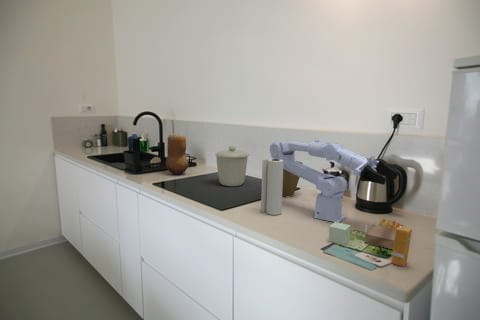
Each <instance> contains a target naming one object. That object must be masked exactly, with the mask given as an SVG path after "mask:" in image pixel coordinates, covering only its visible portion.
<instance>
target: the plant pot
mask: <svg viewBox="0 0 480 320" xmlns="http://www.w3.org/2000/svg"><path fill="white" fill-rule="evenodd" d="M296 161H297V162H299V163H301V164H303V165H304V163H303V162H302V161H298V160H296ZM300 178H301V177H299V176H297V175H295V174H293V173H291V172H289V171H287V170H285V169H283V187H282V197H283V196H290V197H293V196H294V193H295V191H296V189H297V186H298V184H299V181H300ZM292 195H293V196H292Z"/></svg>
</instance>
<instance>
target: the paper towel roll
mask: <svg viewBox="0 0 480 320" xmlns="http://www.w3.org/2000/svg"><path fill="white" fill-rule="evenodd" d="M261 163H262V164H261V166H262V167H261V195H260V196H261V197H260V199H261V200H260V201H261V202H260V212H261V213H263V212H266V214H267V215H271V216H279V215H282V210H283V196H282V187H283V160H280V159H274V158H270V159H262V161H261Z"/></svg>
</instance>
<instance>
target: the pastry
mask: <svg viewBox="0 0 480 320" xmlns="http://www.w3.org/2000/svg"><path fill="white" fill-rule="evenodd" d="M378 226H382V227H387V228H392V229H397V228H398V227H399V226H404V227H407V226H405V225H403V224H401V223H399V222H396V221H395V220H391V219H385V218H381V219H380V221H379V223H378Z"/></svg>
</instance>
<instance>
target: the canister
mask: <svg viewBox="0 0 480 320" xmlns="http://www.w3.org/2000/svg"><path fill="white" fill-rule="evenodd" d="M214 155H215V157H216V167H217V175H218V181H219V183H220V185H222V186H226V187H238V186H242V185H243V184H244V183H245V180H246V173H247V166H248V158H249V156H250V154H249V153H248V152H246V151H243V150H236V147H235V146H234V145H229V147H228V149H227V150H226V149H225V150H220V151H218V152H216V153H215V154H214Z"/></svg>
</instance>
